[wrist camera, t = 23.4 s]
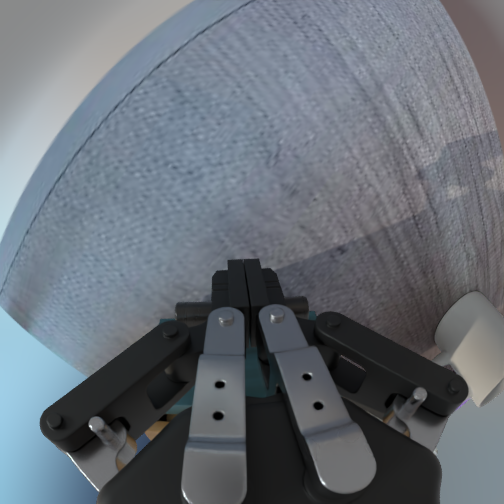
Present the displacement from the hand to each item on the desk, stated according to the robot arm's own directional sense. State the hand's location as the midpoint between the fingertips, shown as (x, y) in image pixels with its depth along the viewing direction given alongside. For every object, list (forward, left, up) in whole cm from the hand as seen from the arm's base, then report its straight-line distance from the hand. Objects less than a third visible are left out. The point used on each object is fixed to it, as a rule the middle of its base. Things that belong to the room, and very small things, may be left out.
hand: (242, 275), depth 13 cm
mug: (+24, +13, -5) cm, 28 cm away
